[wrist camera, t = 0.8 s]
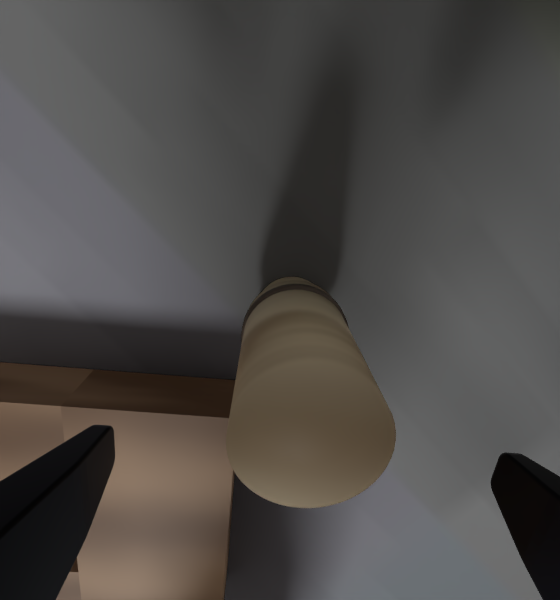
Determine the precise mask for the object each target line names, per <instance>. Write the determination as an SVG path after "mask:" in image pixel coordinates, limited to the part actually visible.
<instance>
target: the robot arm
mask: <svg viewBox="0 0 560 600" xmlns="http://www.w3.org/2000/svg"><path fill="white" fill-rule="evenodd" d="M114 462H115V440H114V429H113V427H112V426H110V425H92V426H90V427H88V428H87V429H85V430H83V431H82V432H80V433H78V434H77V435H75V436H74V437H72V438H70V439H69V440H67V441H65V442H64V443H62V444H60V445H59V446H57V447H55V448H54V449H52V450H51V451H49V452H47V453H46V454H44V455H42V456H41V457H39V458H37V459H36V460H34V461H32V462H31V463H29V464H28V465H26V466H24V467H23V468H21V469H19V470H18V471H16V472H14V473H13V474H11V475H9V476H8V477H6V478H5V479H3V480H1V481H0V600H56V598H57V596H58V594H59V592H60V590H61V588H62V586H63V584H64V582H65V580H66V578H67V576H68V574H69V572H70V570H71V568H72V566H73V564H74V562H75V560H76V558H77V556H78V554H79V552H80V550H81V548H82V546H83V543H84V541H85V539H86V537H87V535H88V532H89V530H90V527H91V524H92V522H93V519H94V517H95V514H96V511H97V509H98V506H99V503H100V501H101V498H102V495H103V493H104V490H105V487H106V485H107V482H108V479H109V477H110V474H111V471H112V469H113V466H114ZM491 488H492V491H493V494H494V496H495V498H496V501H497V503H498V505H499V508H500V510H501V512H502V515H503V517H504V519H505V522H506V524H507V526H508V529H509V531H510V533H511V536H512V538H513V540H514V543H515V545H516V547H517V550H518V552H519V554H520V556H521V558H522V560H523V562H524V564H525V566H526V568H527V570H528V572H529V574H530V576H531V578H532V580H533V582H534V584H535V586H536V587H537V589H538V591H539V593H540V595H541V597H542V599H543V600H560V477H559V476H558V475H556V474H554V473H553V472H551V471H549V470H548V469H546V468H544V467H543V466H541V465H539V464H538V463H536V462H534V461H532V460H531V459H529V458H527V457H526V456H524V455H522V454H518V453H502V454H501V455H500V457H499V459H498V462H497V464H496V467H495V470H494V472H493V475H492V478H491Z"/></svg>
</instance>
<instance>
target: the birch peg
mask: <svg viewBox="0 0 560 600" xmlns="http://www.w3.org/2000/svg"><path fill="white" fill-rule="evenodd" d="M241 343H242V345H241V351H240V357H239V363H238V369H237V375H236V380H235V386H234V392H233V398H232V404H231V410H230V416H229V422H228V428H227V434H226V450H227V455H228V459H229V461H230V464H231V466H232V468H233V470H234V472H235V474H236V475H237V476H238V478H239V479H240V480H241V481H242V482H243V483H244V484H245V485H246V487H248V488H249V489H250V490H251V491H253V492H254V493H256V494H257V495H259V496H261V497H262V498H264V499H266V500H269V501H271V502H274V503H277V504H280V505H284V506H289V507H296V508H318V507H325V506H330V505H334V504H337V503H340V502H343V501H346V500H348V499H350V498H352V497H354V496H356V495H358V494H360V493H361V492H363V491H364V490H365V489H367V488H368V487H369V486H371V485H372V484H373V483H374V482H375V481H376V480H377V479H378V478H379V477H380V475H381V474H382V473H383V471H384V470H385V469H386V467H387V465H388V463H389V461H390V459H391V457H392V454H393V451H394V447H395V441H396V430H395V423H394V419H393V416H392V413H391V411H390V409H389V407H388V405H387V403H386V401H385V399H384V397H383V395H382V393H381V391H380V390H379V388H378V386H377V384H376V382H375V380H374V378H373V376H372V374H371V372H370V370H369V368H368V366H367V364H366V362H365V360H364V358H363V356H362V354H361V352H360V350H359V348H358V346H357V344H356V342H355V340H354V338H353V336H352V334H351V332H350V330H349V328H348V323H347V320H346V318H345V316H344V314H343V312H342V310H341V308H340V306H339V305H338V304H337V302H336V301H335V300H334V299H333V298H332V297H331V296H330V295H329V294H328V293H327V292H326V291H325V290H323V289H322V288H320V287H319V286H317V285H315V284H312V283H311V282H309V281H308V280H305V279H303V278H299V277H284V278H280V279H277V280H275V281H273V282H272V283H270V284H269V285H268V286H267V287H266V288H265V289H264V290H263V291H262V292H261V293H260V294H259V295H258V296H257V297H256V298H255V299H254V301H253V302H252V304H251V305H250V308H249V310H248V311H247V314H246V316H245V318H244V322H243V326H242V333H241Z"/></svg>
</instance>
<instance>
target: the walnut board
mask: <svg viewBox="0 0 560 600" xmlns="http://www.w3.org/2000/svg"><path fill="white" fill-rule="evenodd" d="M234 386H235V380H226V379H213V378H200V377H187V376H174V375H161V374H148V373H135V372H121V371H108V370H95V369H82V368H69V367H56V366H43V365H30V364H17V363H4V362H0V481H1V480H3V479H5V478H6V477H8V476H9V475H11V474H13V473H14V472H16V471H18V470H19V469H21V468H23V467H24V466H26V465H28V464H29V463H31V462H32V461H34V460H36V459H37V458H39V457H41V456H42V455H44V454H46V453H47V452H49V451H51V450H52V449H54V448H55V447H57V446H59V445H60V444H62V443H64V442H65V441H67V440H69V439H70V438H72V437H74V436H75V435H77V434H78V433H80V432H82V431H83V430H85V429H87V428H88V427H90V426H92V425H110V426H112V427H113V429H114V440H115V462H114V466H113V469H112V471H111V474H110V477H109V479H108V482H107V485H106V487H105V490H104V493H103V495H102V498H101V501H100V503H99V506H98V509H97V511H96V514H95V517H94V519H93V522H92V524H91V527H90V530H89V532H88V535H87V537H86V539H85V541H84V543H83V546H82V548H81V550H80V552H79V554H78V556H77V558H76V560H75V562H74V564H73V566H72V568H71V570H70V572H69V574H68V576H67V578H66V580H65V582H64V584H63V586H62V588H61V590H60V592H59V594H58V596H57V598H56V600H224V596H225V587H226V577H227V566H228V553H229V540H230V528H231V515H232V503H233V490H234V478H235V472H234V470H233V468H232V466H231V464H230V461H229V459H228V455H227V450H226V434H227V428H228V422H229V416H230V410H231V404H232V398H233V392H234Z"/></svg>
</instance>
